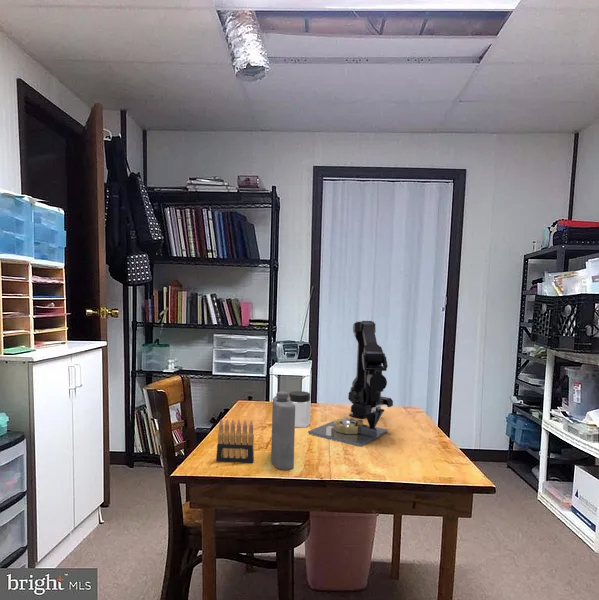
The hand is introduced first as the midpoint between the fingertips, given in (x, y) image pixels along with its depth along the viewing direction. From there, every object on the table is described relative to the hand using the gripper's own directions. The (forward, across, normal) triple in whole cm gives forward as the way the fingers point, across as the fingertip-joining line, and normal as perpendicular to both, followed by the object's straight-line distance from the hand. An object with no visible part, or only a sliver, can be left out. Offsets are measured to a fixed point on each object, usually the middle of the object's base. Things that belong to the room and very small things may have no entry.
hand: (372, 429), depth 151 cm
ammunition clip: (+2, +49, -15) cm, 52 cm away
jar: (+2, +7, -28) cm, 29 cm away
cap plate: (+2, +2, -9) cm, 9 cm away
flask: (+2, +39, -6) cm, 40 cm away
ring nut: (+1, +2, -5) cm, 6 cm away
